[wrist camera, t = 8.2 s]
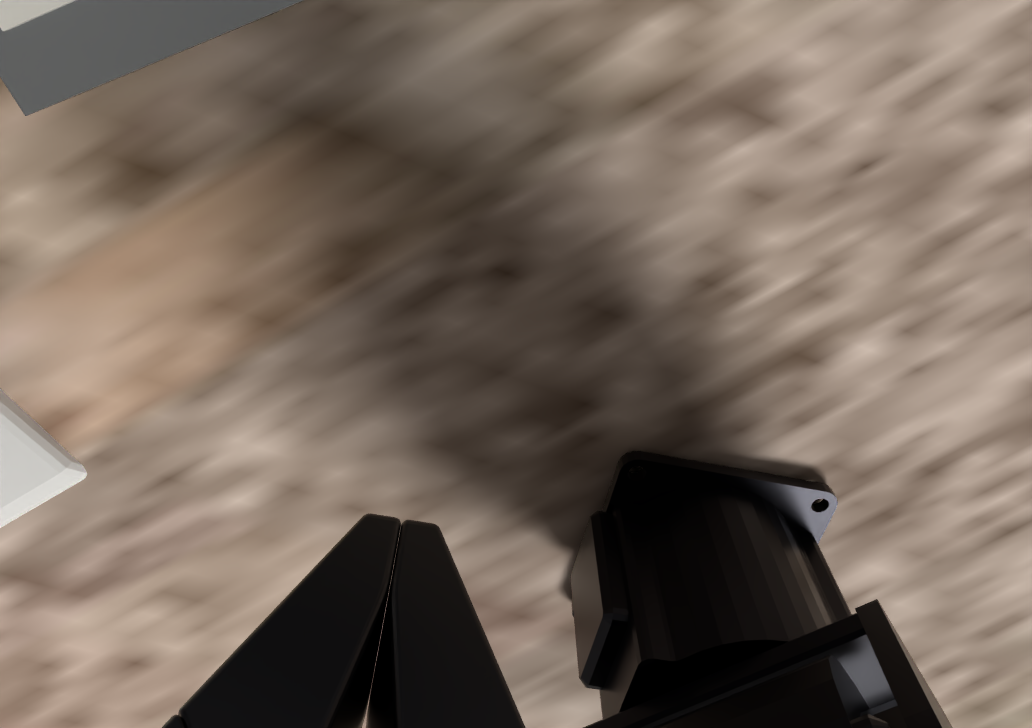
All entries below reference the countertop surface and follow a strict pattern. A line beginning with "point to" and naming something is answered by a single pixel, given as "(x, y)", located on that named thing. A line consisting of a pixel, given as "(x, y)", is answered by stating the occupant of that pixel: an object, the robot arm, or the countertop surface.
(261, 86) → the countertop surface
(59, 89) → the grey stand base
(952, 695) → the countertop surface
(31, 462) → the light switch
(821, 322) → the countertop surface
